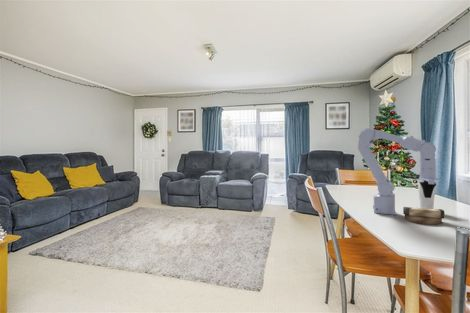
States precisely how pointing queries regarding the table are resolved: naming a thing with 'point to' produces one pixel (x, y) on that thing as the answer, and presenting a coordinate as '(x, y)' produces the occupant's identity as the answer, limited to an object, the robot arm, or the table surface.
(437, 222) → the stool seat
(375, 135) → the robot arm
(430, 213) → the folding leg
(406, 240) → the table surface
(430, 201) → the drinking glass
